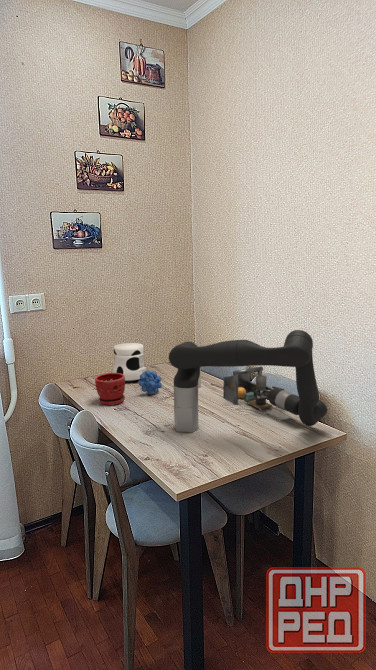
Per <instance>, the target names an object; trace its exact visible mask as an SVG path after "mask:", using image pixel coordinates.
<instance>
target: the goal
mask: <svg viewBox="0 0 376 670" xmlns="http://www.w3.org/2000/svg"><path fill="white" fill-rule="evenodd" d="M263 371H264V367H263V366H257V367H256V366H255V367H250V368H245V369H244V368H243V369H238V370H233V371H232V375H228V376H223V388H222V390H223V391H222V392H223V399H224V400H226V401H228V402H230V403H232V404H233V405H238V404H239V398H238V387H243V388H244V389H245V390H246V393H249V392H252V387H255V388H256V382H255V383H254V382H253V381H251V374H253V373H257V375H256V376H258V375H263Z"/></svg>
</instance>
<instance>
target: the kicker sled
mask: <svg viewBox="0 0 376 670" xmlns="http://www.w3.org/2000/svg"><path fill="white" fill-rule="evenodd" d="M257 375H258V374H257ZM257 375H256V376H255V384H256V388H258V389H260V390H261V389H265V390H266V386H267V379H268V378H267V376H266V375H263V374H262V375H258V376H257ZM259 393H260V391H259ZM243 402H244V403H247V404H249V405H251V406H252V407H255V408H257V409H259V410H260V409H261V410H262V409H266V408H273V405H272V404H271V403H268V402H267V399H264V398H261V400H258V399H256V398H255V397H254V393H253V392H249V393H244V397H243Z"/></svg>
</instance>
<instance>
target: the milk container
mask: <svg viewBox="0 0 376 670" xmlns="http://www.w3.org/2000/svg"><path fill="white" fill-rule="evenodd" d="M145 371H147V366H146V364H145V353H144V344H142V343H138V342H123V343H118V344H114V346H113V367H112V373H121V374H123V375H124V376H125V383H127V382H128V383H130V382H132V383H133V382H139V380H141V379H140V375H141V374H145ZM116 380H117V379H116Z"/></svg>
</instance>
